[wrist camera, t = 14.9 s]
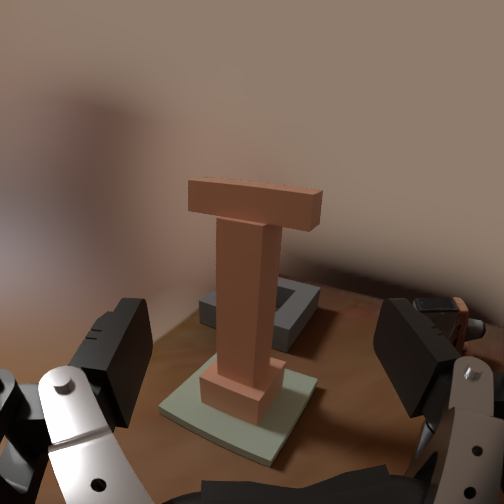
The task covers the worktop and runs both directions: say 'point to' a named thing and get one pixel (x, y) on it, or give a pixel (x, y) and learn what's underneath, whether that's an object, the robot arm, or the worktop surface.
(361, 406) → the worktop surface
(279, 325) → the socket block
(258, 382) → the t key
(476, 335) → the electronic device
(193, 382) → the mat
